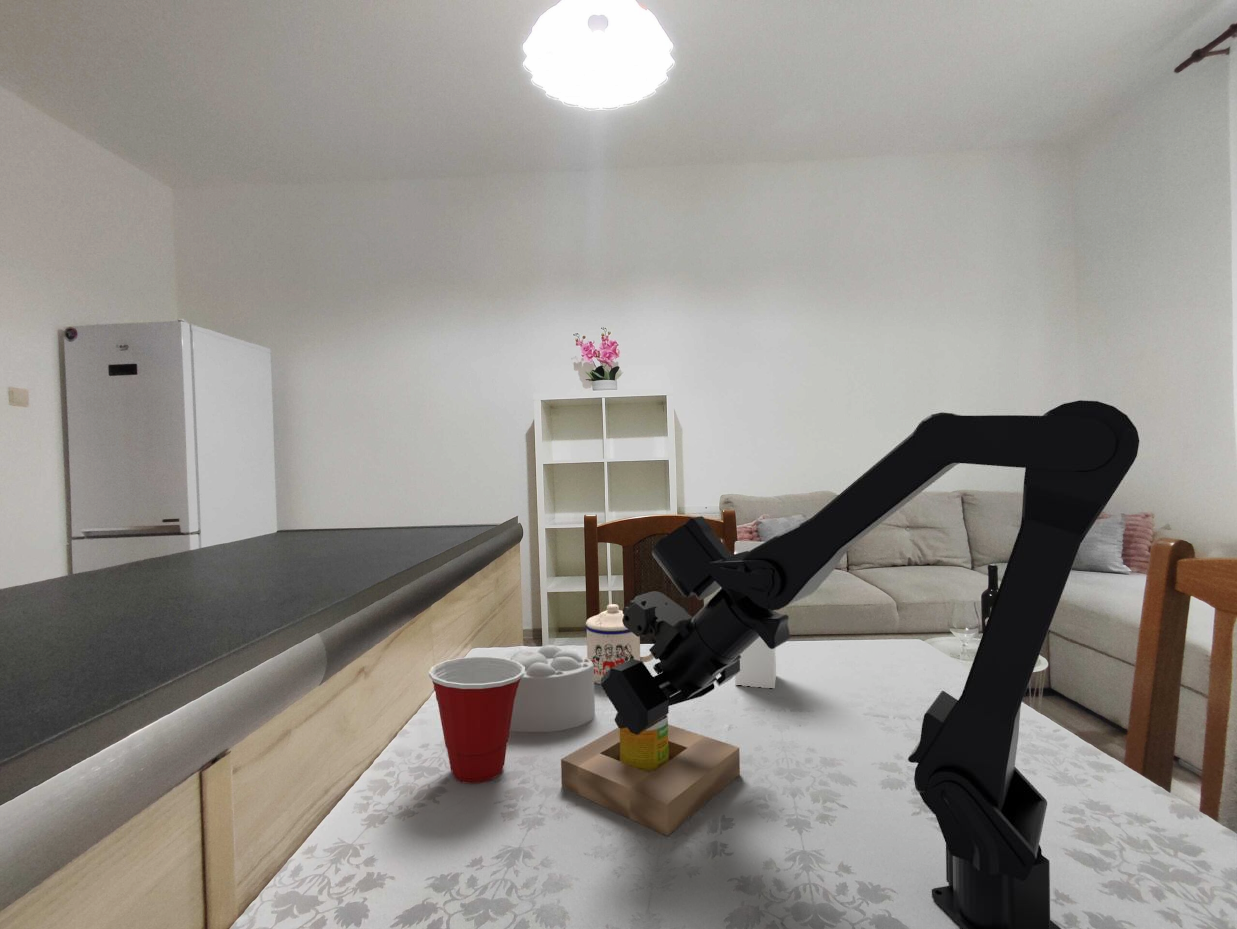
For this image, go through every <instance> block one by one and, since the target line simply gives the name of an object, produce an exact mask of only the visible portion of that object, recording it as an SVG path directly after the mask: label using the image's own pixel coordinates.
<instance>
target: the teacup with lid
mask: <svg viewBox="0 0 1237 929" xmlns="http://www.w3.org/2000/svg"><path fill="white" fill-rule="evenodd" d="M623 616H624V614H623V610H620V606H619V605H618V604H617V603H616V604H615V603H610V604H607V605H606V610H603V611H602V612H600V613H599V614H597V615H593V616H591V617H589V618H587V620H586V622H585V624H584V625H585V626H584V627H585V629H586V654H587V655H586V658H587V659H589V660H590V661H592V663H593V664H594V684H597V685H601V678H602V677H603V676H604V675H605V674H606V673H607V672H608V671H609V670H610V669H611V668H612V667H615V666H617V665H619V664H622V663H624V662H626V661H629V660H631V659H635V660H639V661H642V662H643V663H648V662H651V661H653V659H655V658H654V656H653V655H652V653H651V652H650V654H649V655H646V656H641V636H640V637H637V636H636V635H635V634H633V633H632V632H631V631H630V630H628V629H627V628H626V627H625V626H624V625H623V621H622V619H623Z"/></svg>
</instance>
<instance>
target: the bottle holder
mask: <svg viewBox="0 0 1237 929" xmlns="http://www.w3.org/2000/svg"><path fill="white" fill-rule="evenodd" d="M668 749H669V761H668V762H667V763H665V764H664V765H662V766H661V767H660V768H658V769H657V770H655V771H654V772H652V773H651V774H650V773H648V772H645V771H643V770H640V769H638V768H635V767H633V766H630V765H628V764H625V763H623V762H620V728H619V727H618V726H617V727H616V728H614V729H612V730H610V731H608V732H607V733H605V734H603V735H602V736H600V737H598V738H597V739H594V740H593V741H591V742H589V743H588V744H586V745H584V746H583V747H580V748H579V749H577V750H574V751H573V752H571V753H569V754H568V755H566V756H564V757H562V758H561V759H560V761H561V762H560V767H561V768H560V771H561V780H560V781H561V788H563V789H566V790H568V791H570V792H572V793H575V794H576V795H579V796H581V797H583V798H585V799H588V800H589V801H592V802H594V803H596V804H598V805H600V806H602V807H604V808H607V809H608V810H611V811H613V812H615V813H617V814H619V815H621V816H624V817H625V818H628V819H630V820H632V821H634V822H636V823H638V824H641V825H643V826H645V827H648V828H649V829H651V830H653V831H656V832H657V833H659V834H662V835H664V836H666V837H668V836H670V835H671V834H672V833H673V832H675V830H677V829H678V828H679V827H681V825H683V824H684V823H685V822H686V821H688V819H690V817H692V816H693V815H694V814H695V813H696V812H698V811H699V810H700V809H702V807H704V806H705V805H706V804H707V803H709V801H710V800H712V799H713V798H714V797H716V796H717V795H718V794H719V793H720V792H721V791H722V790H723V789H725V788H726V787H727V786H728V785H729V784H731V782H733V781H734V780H735V779H736V778H737V777H738V776H740V773H741V767H740V766H741V764H740V763H741V762H740V759H741V758H740V755H741V754H740V747H739V746H736V745H733V744H731V743H726V742H724V741H720V740H717V739H714V738H712V737H708V736H705V735H703V734H699V733H696V732H693V731H690V730H687V729H684V728H680V727H678V726H675V725H671V724H669V723H668ZM732 780H733V781H732Z"/></svg>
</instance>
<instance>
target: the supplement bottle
mask: <svg viewBox="0 0 1237 929" xmlns="http://www.w3.org/2000/svg"><path fill="white" fill-rule="evenodd" d="M668 715H669V714H667V715H666V716H667V717H666V718H665V719H663V720H662V721H660V722H658V723H656V724H655V725H653V726H652V727H650V728H648V729H647V730H645V731H643V732H642V733H640V734H638V735H636V734H633V733H631V732H630V731H629V729H628V728H621V729H620V762H623V763H625V764H628V765H630V766H633V767H635V768H638V769H640V770H643V771H645V772H648V773H650V774H651V773H652V772H654V771H655V770H657V769H658V768H660V767H661V766H662V765H664V764H665V763H667V762H668V761H669V749H668V724H669V719H668V718H669V717H668Z"/></svg>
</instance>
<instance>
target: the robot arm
mask: <svg viewBox="0 0 1237 929" xmlns="http://www.w3.org/2000/svg"><path fill="white" fill-rule="evenodd" d="M1138 432H1139V431H1138V430H1137V427H1136V426H1135V424H1134V423H1133V422H1132V420H1131V419H1130V418H1129V416H1128V415H1127V414H1125V413H1124V412H1123V411H1121V410H1120V409H1118V408H1117V407H1116V406H1114V405H1111V404H1107V403H1104V402H1102V401H1098V400H1082V399H1080V400H1076V401H1070V402H1065V403H1062V404H1060V405H1058V406H1056V407H1055V408H1052V409H1050V410H1048V411H1047V412H1045V413H1044V414H1043V415H1018V414H1017V415H1016V414H1015V415H1014V414H1013V415H1011V414H1010V415H1004V414H1003V415H1002V414H999V415H993V414H991V415H989V414H988V415H961V414H956V413H953V412H942V411H941V412H938V413H934V414H933V413H932V414H931V415H929V416H927V417H924V419H922V420H921V421H920V422H919V423H918V425H917V427H915V429H914V431H913V432H912V433H910V434H909V435H908V436H907V437H905V439H903V440H902V441H901V442H900V443H899V444H897V445H896V446H895V447H894V448H893V449H892V450H890V451H889V452H888V453H887V454H885V455H884V456H883V457H882V458H881V459H879V460H878V461H877V462H876V463H875V464H874V465H872V467H870V468H869V469H868V470H867V471H865V472H864V473H863V474H862V475H861V476H859V477H858V478H857V479H856V480H854V481H853V482H852V483H851V484H849V485H848V486H847V487H846V488H845V489H844V490H843V491H841V493H839V494H838V495H837V496H836V497H834V498H833V499H832V500H831V501H830V502H829V503H828V504H826V505H825V506H824V507H823V508H822V509H821V510H819V511H818V512H817V513H816V514H814V515H813V516H812V517H811V518H809V519H806V520H805V521H803V522H801V523H800V524H798V525H796V526H794V527H791V528H789V529H788V530H786V531H784V532H782V533H779V534H778V535H775V536H774V537H772V538H770V539H768V540H766V541H764V542H765V543H763V544H761V545H759V546H758V547H756V548H754V549H752V550H751V551H745V552H741V553H737V554H734V553H733V554H732V552H731V551H730V550H729V549H728V547H727V546H726V545H725V543H724V542H722V540H721V539H720V538H719V537H718V536H717V534H716V533H715V532H714V531H713V528H712V527H711V525H710V523H709V522H708V521H707V519H706V518H705V517H704V516H703V515H700V516H693V517H689V519H688V521H686V523H685V524H683V525H681V526H678V527H677V528H676V529H674V530H673V531H671V532H670V533H669V534H667V535H666V536H664V537H662V538H660V540H659V541H658V542H657V543H656V544H655V546H654V547H653V549H652V552H651V554H652V557H653V558H654V559H655V560H656V563H658V565H659V566H660V567H661V569H662V570H663V571H664V573H665V574H666V575H667V576H668V578H669V579H670V580H671V582H672V583H673V584H674V585H675V587H676V588H677V590H679V592H680V594H681V595H682V596H683V598H686V599H690V598H691V597H693V596H695V597H696V598H697V599H698V601H701V600H704V599H706V598H707V597H709V596H711V595H712V594H714V593H715V592H716V591H717V590H718V592H716V593H715V595H714V596H712V598H710V600H709V601H708V602H707V603H706V604H705V605H703V607H702V608H701V609H700V610H699V611H697V613H696V614H694V616H692V615H690V614H689V613H688V612H687V610H685V608H684V607H682V606H680V604H678V603H676V601H674V600H672V599H671V598H670V597H668V596H667V595H665V594H664V593H663V592H660V591H658V590H657V591H656V590H654V591H649V592H646V593H643V594H639V595H636V596H635V597H634V599H632V600H630V601H629V603H628V605H627V606H625V607H623V608H622V611H623V614H624V616H623V619H622V621H623V625H624V626H625V627H626V628H627V629H628V630H630V631H631V632H632V633H633V634H635V635H636V636H637V637H640V638H641V637H644V638H645V639H646V640H647V641H648V642H650V643H652V644H653V645H652V646H651V647H650V648H649V652H650V654H651V653H652V655H653V656H654V658H653V659H655V660H659V662H656V663H654V664H653V666H652V669H653V670H654V672H655V673H656V675H654V676H653V675H652V673H651V672H650V670H649V669H648V668H647V666H646V664H645V662H642V661H639V660H635V659H631V660H629V661H626V662H624V663H622V664H619V665H617V666H615V667H612V668H611V669H610V670H609V671H608V672H607V673H606V674H605V675H604V676H603V677H602V678H601V684H600V687H601V689H602V690H603V692H604V693H605V695H606V697H607V698H608V699H609V701H610V703H611V704H612V706H613V707H614V709H615V711H616V712H617V713H616V714H615V717H614V722H615V725H616V726H617V728H618V727H619V728H620V729H621V728H628V729H629V731H630V732H631V733H633V734H636V735H638V734H640V733H642V732H643V731H645V730H647V729H648V728H650V727H652V726H653V725H655V724H656V723H658V722H660V721H662V720H663V719H665V718H666V717H667V716H666V715H669V713H670V712H669V711H670V710H669V709H670V708H669V707H670V706H674V705H677V704H681V703H684V702H687V701H690V700H694V699H698V698H701V697H703V696H706V695H707V694H708V693H710V692H712V691H713V690H714V689H715V688H716V687H715V683H716V684H717V686H718V687H721V686H722V685H724V684H725V683H727V682H728V681H729V682H730V680H732V679H733V678H735V675H736V674H737V673H738V672H739V671H740V658H741V656H740V654H741V653H742V652H743V651H744V650H746V649H747V648H748V647H749V646H750V645H751V644H752V643H753V642H754V641H755V640H757V639H758V638H759V637H761V639H762V640H763V641H764V642H765V644H766V645H767V646H768V647H769V648H770V649H774V648H776V649H777V648H778V647H779V646H781V645H783V644H784V643H786V642H788V641H789V640H790V639H791V635H790V627H789V626H788V625H789V624H788V623H789V615H788V614H783V613H782V614H781V613H779V612H777V611H779V610H780V609H783V608H785V607H787V606H789V605H790V606H791V605H792V604H793V603H796V602H797V601H800V600H802V599H804V598H807V597H808V596H812V594H813V593H815V592H816V591H817V590H818V588H819V587H820V586H821V585H822V584H823V583H824V581H826V580H827V578H829V576H830V575H831V574H832V573H833V571H834V570H836V568H837V566H838V564H839V563H840V562H841V560H842V559H843V557H844V556H845V555H846V553H847V552H848V551H849V550H850V549H851V547H853V546H854V545H855V544H856V543H857V542H859V541H860V540H861V539H863V538H864V537H865V536H866V535H868V534H870V532H871V531H873V530H875V528H877V527H879V525H881V524H882V523H883V522H885V521H886V520H887V519H889V517H891V516H892V515H894V514H895V513H896V512H897V511H899V510H901V509H902V508H903V507H904V506H905V505H907V504H908V503H910V501H912V500H913V499H914V498H915V497H917V496H918V495H919V494H921V493H922V492H923V491H924V490H926V489H927V488H929V486H931V485H932V484H933V483H935V482H936V481H937V480H939V479H940V478H942V476H944V475H945V474H947V473H948V472H949V471H950V470H952V469H954V468H955V466H957V465H959V464H964V465H965V464H968V465H980V466H991V467H992V466H995V467H1004V468H1005V467H1006V468H1007V467H1008V468H1009V467H1010V468H1024V469H1025V470H1024V476H1023V490H1022V505H1021V506H1022V508H1021V522H1020V527H1019V529H1018V533H1017V536H1016V539H1015V542H1014V544H1013V547H1012V550H1011V553H1010V556H1009V558H1008V562H1007V564H1006V567H1005V569H1004V570H1005V571H1004V572H1003V573H1004V574H1003V575H1002V577H1001V578H1002V579H1001V581H1000V584H999V587H998V588H997V589H998V590H997V593H996V595H995V598H994V602H993V604H992V607H991V610H990V612H989V615H988V618H987V621H986V624H985V627H984V630H983V633H982V636H981V638H980V642H979V644H978V647H977V650H976V653H975V655H974V659H973V661H972V663H971V667H970V670H969V673H968V676H967V679H966V681H965V684H964V687H963V690H962V693H961V695H960V697H959V698H958V699H957V698H956V697H955V696H952V695H951V694H949V693H948V692H946V691H944V690H942V691H941V692H939V694H938V695H937V697H936V698H935V700H934V701H933V702H932V703H931V705H930V706H929V708H928V709H927V710H926V712H925V713H924V715H923V720H922V724H921V730H920V739H919V742H918V743H917V744H916V746H915V748H914V749H913V751H911V754H909V756H908V758H907V760H908V761H909V762H910V763H913V764H914V763H915V764H916V763H917V765H916V767H915V769H914V770H915V771H914V776H913V782H914V787H915V790H916V791H917V792H918V794H919V795H920V797H921V800H922V801H923V803H924V804H925V806H926V807H927V808H928V809H929V811H931V812H932V814H933V815H935V817H936V820H937V823H938V826H939V829H940V831H941V834H942V837H943V840H944V842H945V870H946V871H945V873H946V876H945V879H946V882H947V883H948V885H945V886H940V887H934V888H931V898H932V899H933V900H934V901H935V902H936V903H937V904H938V906H940V907H941V908H942V909H943V911H945V912H946V913H947V914H948V915H949V916H950V917H951V918H952V919H953V920H954V921H955V923H957V925H959V927H961V929H1062V928H1061V927H1060V926H1058V924H1056V923H1055V922H1054V921H1052V920H1051V888H1050V887H1051V884H1050V883H1051V875H1050V874H1051V872H1050V871H1051V870H1050V869H1051V868H1050V860H1049V859H1048V858H1047V857H1045V856H1044V855H1043V854H1042V853H1043V852H1042V847H1041V845H1040V842H1041V836H1042V832H1043V825H1044V821H1045V817H1046V812H1047V807H1048V800H1047V799H1046V798H1045V797H1044V796H1043V795H1042V794H1041V793H1040V791H1038V790H1037V788H1035V786H1034V785H1033V784H1032V783H1031V782H1030V781H1029V780H1028V779H1027V777H1025V776H1024V775H1023V773H1022V772H1020V770H1019V769H1018V768H1017V767H1016V759H1017V758H1016V757H1017V753H1018V742H1019V735H1020V734H1019V733H1020V720H1021V719H1020V716H1021V708H1022V707H1021V706H1022V702H1023V699H1024V697H1025V695H1026V692H1027V689H1028V686H1029V685H1030V684H1029V683H1030V681H1031V679H1032V676H1033V673H1034V671H1035V668H1036V665H1037V662H1038V659H1039V657H1040V655H1041V651H1042V648H1043V646H1044V644H1045V641H1046V638H1047V635H1048V633H1049V630H1050V628H1051V625H1052V622H1053V619H1054V617H1055V614H1056V611H1057V608H1058V606H1059V603H1060V601H1061V598H1062V595H1063V592H1064V590H1065V587H1066V585H1067V582H1068V579H1069V577H1070V575H1071V574H1070V573H1071V572H1072V568H1073V566H1074V563H1075V561H1076V557H1077V555H1078V553H1079V550H1080V547H1081V545H1082V543H1083V541H1084V539H1085V538H1086V536H1087V534H1088V533H1089V532H1090V530H1091V529H1092V527H1093V525H1094V524H1095V522H1096V521H1097V519H1098V518H1099V517H1100V515H1101V513H1103V511H1104V509H1105V508H1106V506H1107V504H1109V502H1110V500H1111V498H1112V497H1113V496H1114V494H1115V492H1116V491H1117V489H1118V488H1119V486H1120V484H1121V483H1122V481H1123V480H1124V479H1125V476H1126V475H1127V474H1128V472H1129V471H1130V469H1131V467H1132V466H1133V465H1134V462H1135V460H1136V458H1137V457H1138V452H1139V448H1140V447H1139V446H1140V437H1139V433H1138ZM774 610H775V611H774ZM719 675H720V676H719ZM718 676H719V677H718ZM717 677H718V678H717Z"/></svg>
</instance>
